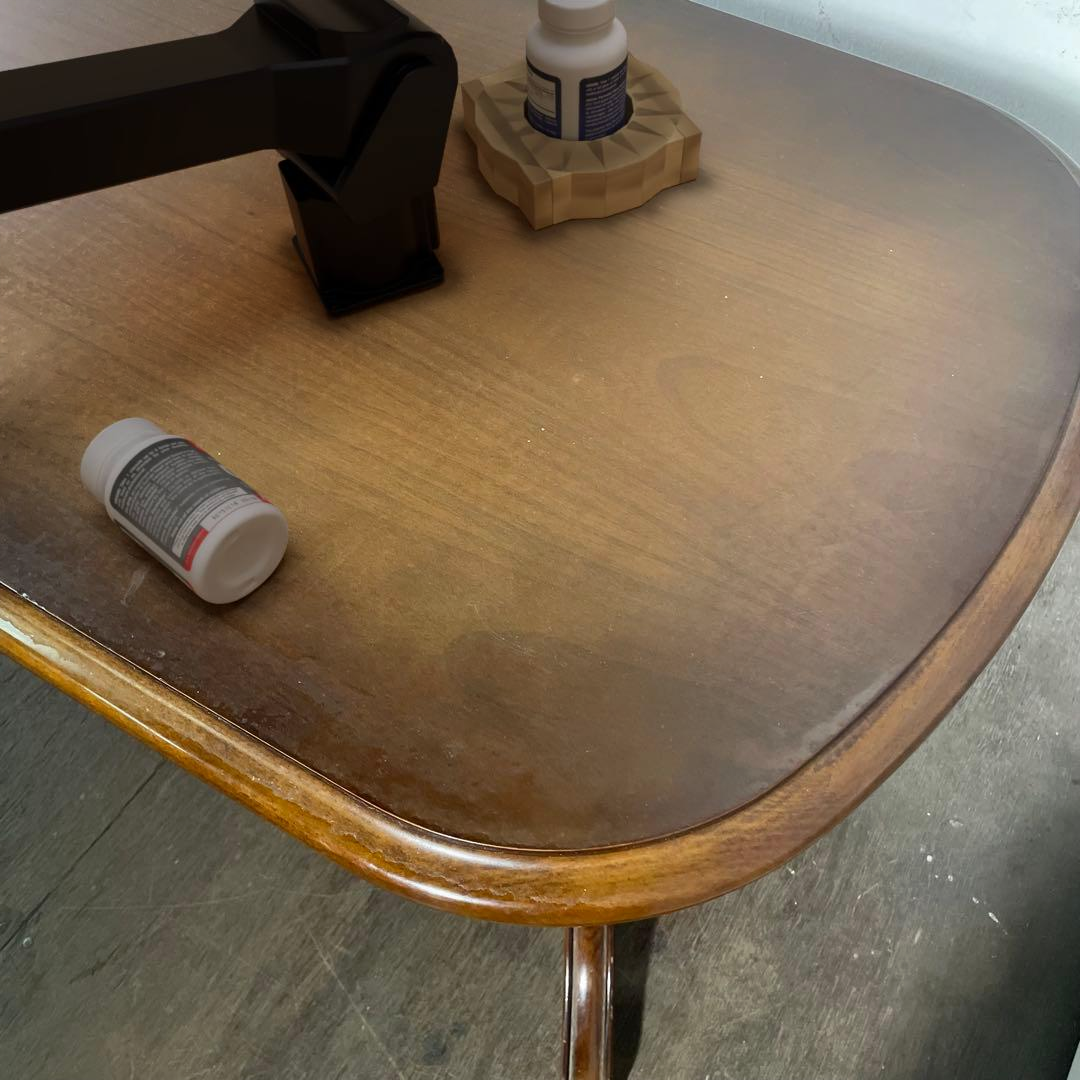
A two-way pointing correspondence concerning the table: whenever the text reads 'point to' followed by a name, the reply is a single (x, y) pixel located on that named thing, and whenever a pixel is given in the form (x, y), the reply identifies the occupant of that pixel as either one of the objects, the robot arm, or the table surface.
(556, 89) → the pill bottle
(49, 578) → the table surface
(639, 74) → the socket plate
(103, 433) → the pill bottle
